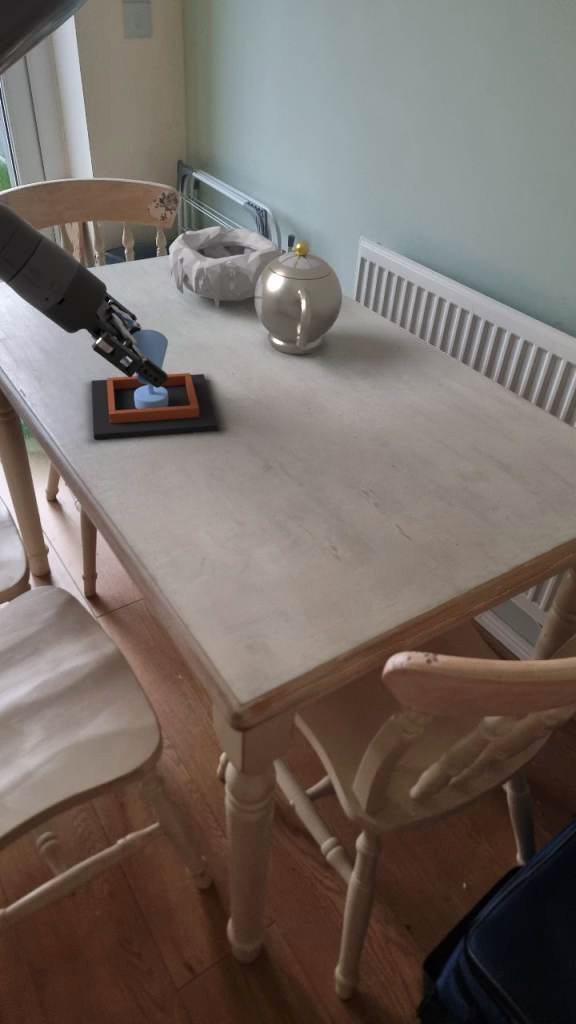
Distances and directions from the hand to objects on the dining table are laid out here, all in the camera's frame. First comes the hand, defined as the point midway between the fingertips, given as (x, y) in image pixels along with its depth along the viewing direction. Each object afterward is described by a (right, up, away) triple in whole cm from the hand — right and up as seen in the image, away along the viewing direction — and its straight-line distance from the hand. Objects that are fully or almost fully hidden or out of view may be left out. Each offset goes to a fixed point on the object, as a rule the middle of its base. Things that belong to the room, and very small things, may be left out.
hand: (160, 366), depth 92 cm
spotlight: (-2, -4, +3) cm, 6 cm away
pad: (-2, -5, +4) cm, 6 cm away
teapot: (+18, +7, +20) cm, 28 cm away
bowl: (+6, +20, +34) cm, 40 cm away
